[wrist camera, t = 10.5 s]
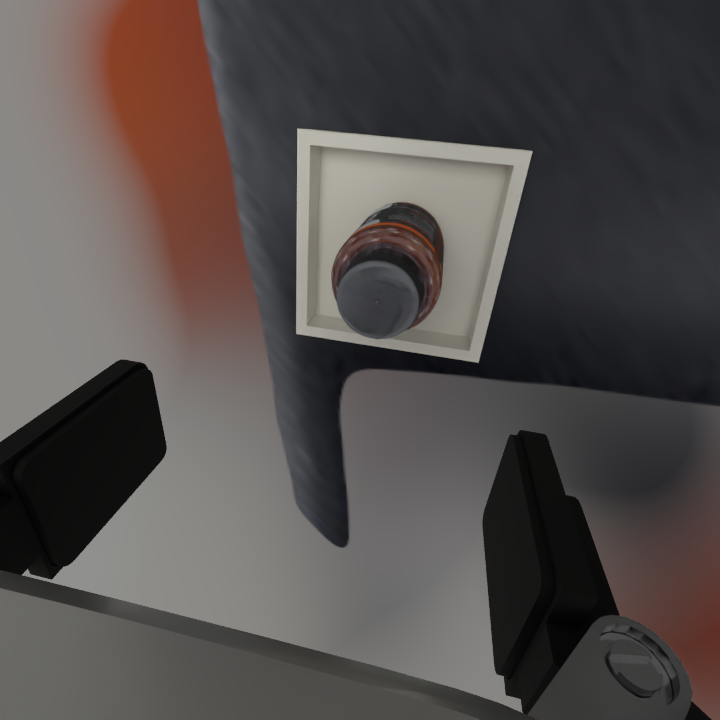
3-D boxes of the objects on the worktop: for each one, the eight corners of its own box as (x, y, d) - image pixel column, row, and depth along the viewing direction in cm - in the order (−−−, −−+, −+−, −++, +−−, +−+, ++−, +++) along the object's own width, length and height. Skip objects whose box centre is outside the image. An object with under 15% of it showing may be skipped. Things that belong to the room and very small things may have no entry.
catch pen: (311, 128, 27) (297, 128, 25) (524, 149, 26) (532, 151, 23) (307, 318, 34) (296, 333, 31) (475, 344, 32) (478, 362, 30)
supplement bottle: (358, 200, 28) (310, 234, 19) (447, 200, 27) (446, 236, 17) (360, 284, 31) (319, 353, 21) (441, 287, 30) (437, 361, 20)
